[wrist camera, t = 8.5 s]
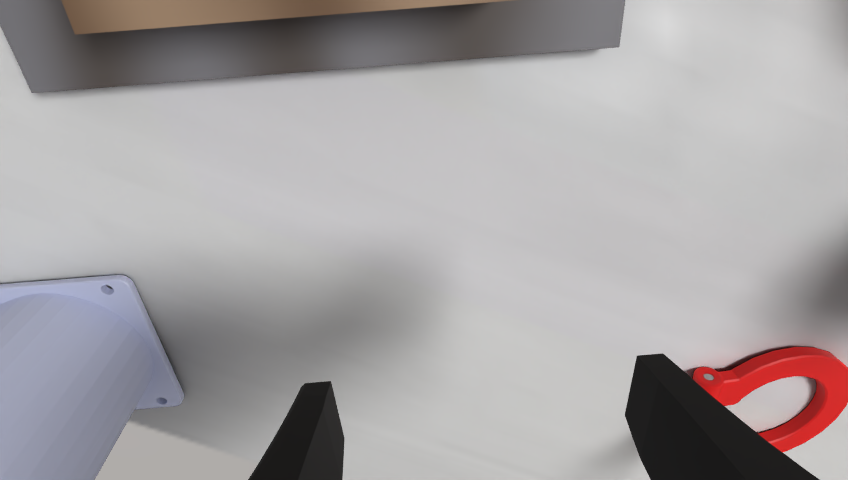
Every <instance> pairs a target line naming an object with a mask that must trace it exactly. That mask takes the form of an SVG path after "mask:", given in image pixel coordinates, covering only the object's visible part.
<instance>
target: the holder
mask: <svg viewBox="0 0 848 480" xmlns="http://www.w3.org/2000/svg"><path fill="white" fill-rule="evenodd" d="M624 6H625V0H0V26H1V28H2V30H3V32H4V34H5V36H6V38H7V41H8V43H9V45H10V47H11V49H12V51H13V53H14V56H15V58H16V60H17V62H18V64H19V66H20V68H21V71H22V73H23V75H24V77H25V79H26V81H27V83H28V85H29V88H30V90H31V92H32V93H38V92H51V91H64V90H77V89H89V88H102V87H115V86H128V85H141V84H153V83H166V82H179V81H192V80H205V79H217V78H230V77H243V76H256V75H269V74H282V73H294V72H307V71H320V70H333V69H346V68H358V67H371V66H384V65H397V64H410V63H422V62H435V61H448V60H461V59H474V58H486V57H499V56H512V55H525V54H538V53H550V52H563V51H576V50H589V49H602V48H614V47H619V45H620V37H621V29H622V21H623V14H624Z"/></svg>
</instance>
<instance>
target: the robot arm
mask: <svg viewBox="0 0 848 480" xmlns="http://www.w3.org/2000/svg"><path fill="white" fill-rule="evenodd" d="M106 285H109V286H111V287H112V288H113V289H110V288H108V287H107V286H106ZM183 399H184V393H183V391H182V388H181V386H180V384H179V382H178V380H177V377H176V375H175V373H174V371H173V368H172V366H171V364H170V362H169V360H168V357H167V355H166V353H165V351H164V349H163V346H162V344H161V342H160V340H159V337H158V335H157V333H156V331H155V329H154V326H153V324H152V322H151V320H150V318H149V315H148V313H147V311H146V309H145V306H144V304H143V302H142V300H141V298H140V295H139V293H138V291H137V289H136V287H135V284H134V283H133V281H132V280H131V279H130V278H128V277H126V276H124V275H111V276H98V277H85V278H73V279H60V280H48V281H35V282H22V283H10V284H0V480H94V479H95V478H96V476H97V474H98V473H99V471H100V469H101V467H102V466H103V464H104V462H105V460H106V459H107V457H108V455H109V453H110V451H111V450H112V448H113V446H114V444H115V443H116V441H117V439H118V438H119V436H120V434H121V432H122V430H123V429H124V427H125V425H126V423H127V422H128V420H129V418H130V416H131V415H132V413H133V411H134V409H147V408H159V407H172V406H178V405H180V404H181V403H182V401H183ZM625 417H626V419H627V422H628V425H629V428H630V431H631V434H632V437H633V440H634V442H635V445H636V448H637V451H638V453H639V456H640V458H641V461H642V463H643V465H644V467H645V469H646V471H647V473H648V475H649V477H650V479H651V480H819V479H818V478H816V477H815V476H814V475H812V474H811V473H809V472H808V471H807V470H805V469H804V468H802V467H801V466H800V465H798V464H797V463H796V462H794V461H793V460H792V459H790V458H789V457H788V456H786V455H785V454H784V453H782V452H781V451H780V450H778V449H777V448H776V447H774V446H773V445H772V444H770V443H769V442H768V441H766V440H765V439H764V438H763V437H761V436H760V435H759V434H758V433H756V432H755V431H754V430H753V429H751V428H750V427H749V426H748V425H746V424H745V423H744V422H743V421H741V420H740V419H739V418H738V417H737V416H735V415H734V414H733V413H732V412H730V411H729V410H728V409H727V408H726V407H724V406H723V405H722V404H721V403H720V402H719V401H717V400H716V399H715V398H714V397H713V396H712V395H710V394H709V393H708V392H707V391H706V390H705V389H703V388H702V387H701V386H700V385H699V384H698V383H696V382H695V381H694V380H693V379H692V378H691V377H690V376H688V375H687V374H686V373H685V372H684V371H683V370H682V369H680V368H679V367H678V366H677V365H676V364H675V363H673V362H672V361H671V360H670V359H669V358H668V357H666V356H665V355H664V354H652V355H640V356H637V359H636V363H635V368H634V373H633V378H632V383H631V388H630V393H629V398H628V402H627V407H626V412H625ZM343 456H344V435H343V431H342V426H341V422H340V418H339V414H338V409H337V405H336V401H335V397H334V392H333V388H332V384H331V381H328V382H316V383H305V384H304V385H303V386H302V387H301V389H300V391H299V393H298V395H297V397H296V399H295V401H294V403H293V405H292V406H291V408H290V410H289V412H288V414H287V416H286V418H285V419H284V421H283V423H282V425H281V427H280V428H279V430H278V432H277V434H276V435H275V437H274V439H273V441H272V442H271V444H270V446H269V447H268V449H267V450H266V452H265V454H264V455H263V457H262V459H261V460H260V462H259V464H258V465H257V467H256V469H255V470H254V472H253V473H252V475H251V476H250V478H249V479H248V480H342V474H343Z"/></svg>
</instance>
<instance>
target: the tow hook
mask: <svg viewBox="0 0 848 480" xmlns="http://www.w3.org/2000/svg"><path fill="white" fill-rule="evenodd" d="M792 376H806V377H809V378H813V379H815V380H816V382H817V383H816V393H815V395H814V398H813V399H812V401H811V402H810V403H809V405H808V406H807V407H806V408H805V409H804V410H803V411H802V412H801V413H800V414H799V415H797V416H796V417H794V418H793V419H791V420H790V421H788V422H787V423H785V424H783V425H781V426H779V427H777V428H774V429H771V430H768V431H765V432H762V433H758V434H759V435H760V436H761V437H763V438H764V439H765V440H766V441H768V442H769V443H770V444H772V445H773V446H774V447H776V448H777V449H778V450H780V451H781V452H785V451H788V450H790V449H792V448H794V447H796V446H799V445H801V444H803V443H805V442H807V441H808V440H810V439H811V438H813V437H814V436H816V435H817V434H819V433H820V432H822V431H823V430H824V429H825V428H826V427H828V426H829V425H830V424H831V423H832V422H833V421H834V420H836V418H837V417H838V416H839V415H840V413H841V412H842V411H843V409H844V408H845V407H846V405H847V403H848V367H847V366H845V365H844V364H843V363H842V362H841V361H840V360H839V359H837V358H836V357H835V356H834V355H832V354H831V353H830V352H828V351H824V350H821V349H818V348H815V347H792V348H786V349H780V350H775V351H771V352H768V353H766V354H763V355H760V356H757V357H754V358H752V359H750V360H748V361H746V362H744V363H742V364H741V365H739V366H737V367H735V368H733V369H732V370H729V371H721V372H718V371H716V370H714V369H712V368H709V367H699V368H697V369H696V370H695V371H694V374H693V378H692V379H693V380H694V381H695V382H696V383H698V384H699V385H700V386H701V387H702V388H703V389H705V390H706V391H707V392H708V393H709V394H710V395H712V396H713V397H714V398H715V399H716V400H717V401H719V402H720V403H721V404H722V405H723V406H727V405H734V404H736V403H738V402H739V401H740V400H741V399H742V398H743V397H745V396H746V395H748V394H749V393H750V392H752V391H753V390H755V389H757V388H759V387H761V386H763V385H765V384H767V383H769V382H772V381H775V380H778V379H781V378H786V377H792Z"/></svg>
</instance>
